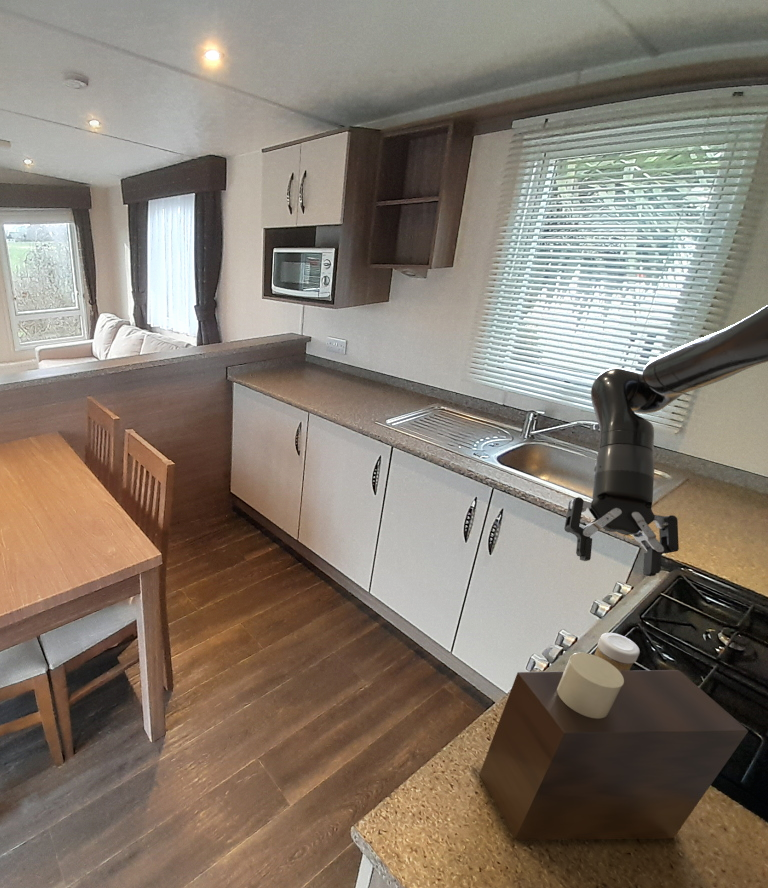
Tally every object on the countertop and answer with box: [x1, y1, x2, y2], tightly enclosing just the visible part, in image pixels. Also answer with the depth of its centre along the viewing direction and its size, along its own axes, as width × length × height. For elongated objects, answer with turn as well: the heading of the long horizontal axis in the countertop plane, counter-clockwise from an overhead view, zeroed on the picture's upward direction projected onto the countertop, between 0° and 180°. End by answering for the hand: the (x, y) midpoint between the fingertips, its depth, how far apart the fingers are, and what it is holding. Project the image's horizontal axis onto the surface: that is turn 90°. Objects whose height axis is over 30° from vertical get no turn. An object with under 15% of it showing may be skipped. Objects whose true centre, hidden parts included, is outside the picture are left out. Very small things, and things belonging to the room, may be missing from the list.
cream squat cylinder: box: [557, 652, 624, 719], centre depth 55 cm, size 5×5×5 cm
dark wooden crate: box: [478, 669, 749, 841], centre depth 60 cm, size 20×8×21 cm, turn 90°
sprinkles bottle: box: [593, 632, 641, 671], centre depth 75 cm, size 5×5×13 cm
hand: (616, 567), depth 79 cm, fingers open, 8 cm apart
